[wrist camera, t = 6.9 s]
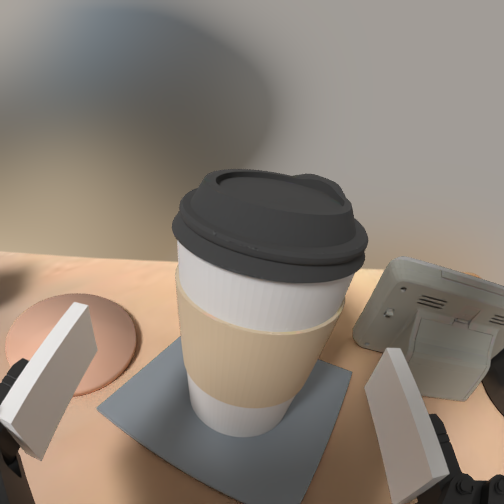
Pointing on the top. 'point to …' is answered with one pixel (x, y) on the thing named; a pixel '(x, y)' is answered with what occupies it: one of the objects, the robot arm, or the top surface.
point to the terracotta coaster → (104, 327)
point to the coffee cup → (260, 290)
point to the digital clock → (435, 325)
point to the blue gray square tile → (223, 446)
